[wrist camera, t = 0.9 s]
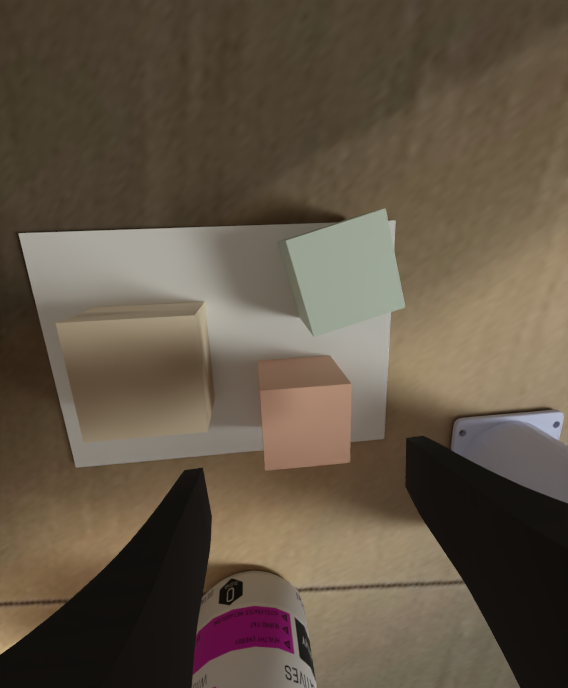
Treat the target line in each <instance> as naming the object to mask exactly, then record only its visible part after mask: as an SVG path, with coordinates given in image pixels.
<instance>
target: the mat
mask: <svg viewBox="0 0 568 688" xmlns="http://www.w3.org/2000/svg"><path fill="white" fill-rule="evenodd" d="M395 222H396V221H388V223H389V228H390V233H391V238H392V243H393V248H394V241H395ZM331 224H334V223H308V224H278V225H249V226H219V227H190V228H160V229H131V230H102V231H72V232H43V233H18V234H19V238H20V242H21V246H22V250H23V254H24V258H25V262H26V266H27V271H28V275H29V279H30V283H31V287H32V291H33V295H34V299H35V303H36V307H37V311H38V315H39V319H40V323H41V328H42V332H43V336H44V340H45V344H46V348H47V352H48V356H49V360H50V364H51V368H52V372H53V376H54V380H55V385H56V389H57V393H58V397H59V401H60V405H61V409H62V413H63V417H64V421H65V425H66V429H67V433H68V437H69V441H70V446H71V450H72V454H73V458H74V462H75V466H76V468H78V467H89V466H100V465H110V464H121V463H132V462H143V461H153V460H164V459H175V458H186V457H196V456H207V455H218V454H229V453H239V452H250V451H261V450H263V439H262V426H261V410H260V395H259V379H258V363H257V361H259V360H273V359H287V358H302V357H316V356H331V357H332V359H333V360H334V361H335V363H336V364H337V365H338V367H339V368H340V369H341V370H342V372H343V373H344V374H345V376H346V377H347V378H348V380H349V381H350V382H351V384H352V388H351V438H350V442H358V441H369V440H379V439H384V435H385V415H386V396H387V377H388V357H389V338H390V319H391V312H389V313H386V314H383V315H380V316H377V317H374V318H371V319H368V320H365V321H362V322H359V323H356V324H353V325H350V326H347V327H344V328H341V329H338V330H334V331H331V332H328V333H325V334H322V335H319V336H316V337H313V335H312V334H311V332H310V331H309V330H308V328H307V327H306V326H305V324H304V323H303V322H302V320H301V319H300V317H299V314H298V310H297V307H296V304H295V300H294V297H293V294H292V290H291V287H290V284H289V280H288V277H287V274H286V270H285V267H284V264H283V260H282V257H281V254H280V250H279V247H278V244H277V242H278V241H281V240H285V239H288V238H291V237H294V236H297V235H300V234H303V233H306V232H309V231H312V230H315V229H319V228H322V227H325V226H328V225H331ZM188 302H205V307H206V316H207V326H208V336H209V345H210V355H211V364H212V374H213V384H214V393H215V400H214V405H213V410H212V414H211V419H210V424H209V429H208V432H202V433H191V434H179V435H168V436H156V437H145V438H133V439H122V440H110V441H99V442H87V443H83V439H82V434H81V430H80V426H79V421H78V417H77V413H76V409H75V404H74V400H73V396H72V391H71V387H70V383H69V378H68V374H67V370H66V366H65V361H64V357H63V353H62V348H61V344H60V340H59V336H58V331H57V327H56V323H57V322H60V321H62V320H65V319H67V318H70V317H72V316H75V315H77V314H80V313H82V312H85V311H87V310H90V309H92V308H95V307H112V306H131V305H150V304H169V303H188Z"/></svg>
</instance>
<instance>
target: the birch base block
mask: <svg viewBox="0 0 568 688" xmlns="http://www.w3.org/2000/svg"><path fill="white" fill-rule="evenodd" d="M56 327H57V331H58V336H59V340H60V344H61V348H62V353H63V357H64V361H65V366H66V370H67V374H68V378H69V383H70V387H71V391H72V396H73V400H74V404H75V409H76V413H77V417H78V421H79V426H80V430H81V434H82V439H83V443H87V442H99V441H110V440H122V439H133V438H145V437H156V436H168V435H179V434H191V433H202V432H208V429H209V424H210V419H211V414H212V410H213V405H214V400H215V393H214V384H213V374H212V364H211V355H210V345H209V336H208V326H207V316H206V307H205V302H188V303H169V304H150V305H131V306H112V307H95V308H92V309H90V310H87V311H85V312H82V313H80V314H77V315H75V316H72V317H70V318H67V319H65V320H62V321H60V322H57V323H56Z"/></svg>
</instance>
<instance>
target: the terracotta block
mask: <svg viewBox="0 0 568 688" xmlns="http://www.w3.org/2000/svg"><path fill="white" fill-rule="evenodd" d="M257 363H258V379H259V395H260V410H261V426H262V439H263V452H264V465H265V471H270V470H280V469H290V468H300V467H310V466H320V465H331V464H341V463H350V438H351V388H352V384H351V382H350V381H349V380H348V378H347V377H346V376H345V374H344V373H343V372H342V370H341V369H340V368H339V367H338V365H337V364H336V363H335V361H334V360H333V359H332V357H331V356H316V357H302V358H287V359H273V360H259V361H257Z"/></svg>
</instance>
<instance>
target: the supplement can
mask: <svg viewBox="0 0 568 688" xmlns="http://www.w3.org/2000/svg"><path fill="white" fill-rule="evenodd" d="M192 688H317V686H316V680H315V674H314V667H313V661H312V654H311V648H310V642H309V635H308V629H307V623H306V616H305V610H304V605H303V602H302V599H301V596H300V593H299V592H298V591H297V590H296V589H295V588H294V587H293V586H292V585H291V584H290V583H289V582H288V581H286V580H284V579H283V578H281V577H279V576H277V575H274V574H272V573H270V572H264V571H255V570H252V571H246V572H240V573H236V574H233V575H231V576H229V577H227V578H225V579H223V580H221V581H220V582H219V583H218V584H216V585H215V586H214V587H213V588H211V589H210V590H209V591H208V592H207V593H206V594H205V595H204V596H203V597H202V600H201V606H200V612H199V618H198V625H197V633H196V640H195V652H194V665H193V677H192Z"/></svg>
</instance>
